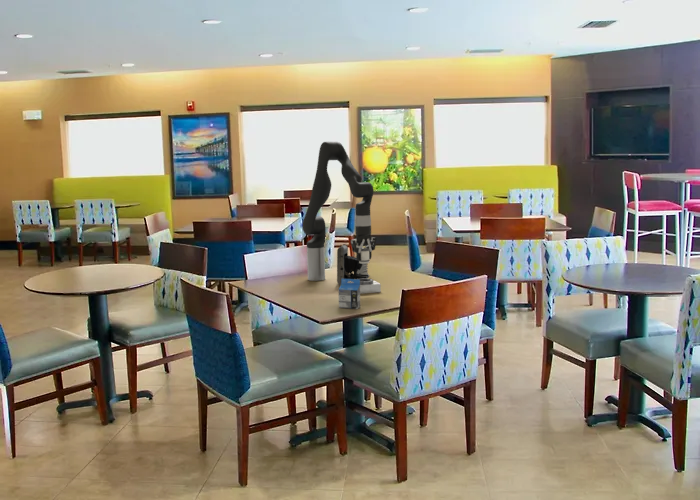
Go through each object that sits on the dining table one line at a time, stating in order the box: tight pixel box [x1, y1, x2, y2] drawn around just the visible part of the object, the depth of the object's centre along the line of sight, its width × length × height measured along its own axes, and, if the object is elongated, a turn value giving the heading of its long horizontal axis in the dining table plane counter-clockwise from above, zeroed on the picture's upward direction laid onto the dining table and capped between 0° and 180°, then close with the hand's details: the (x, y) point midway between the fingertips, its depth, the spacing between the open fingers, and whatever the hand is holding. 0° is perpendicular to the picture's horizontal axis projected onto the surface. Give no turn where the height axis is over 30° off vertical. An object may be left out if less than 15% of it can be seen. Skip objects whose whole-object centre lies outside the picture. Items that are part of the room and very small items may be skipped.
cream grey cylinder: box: [359, 247, 371, 264], centre depth 339 cm, size 5×5×7 cm
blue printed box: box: [338, 279, 361, 310], centre depth 306 cm, size 9×4×12 cm, turn 69°
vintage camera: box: [336, 243, 370, 286], centre depth 360 cm, size 10×16×20 cm, turn 78°
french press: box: [352, 252, 371, 277], centre depth 380 cm, size 10×12×25 cm
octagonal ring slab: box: [348, 278, 382, 295], centre depth 340 cm, size 9×15×6 cm, turn 106°
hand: (364, 259), depth 339 cm, fingers closed on cream grey cylinder, 5 cm apart
